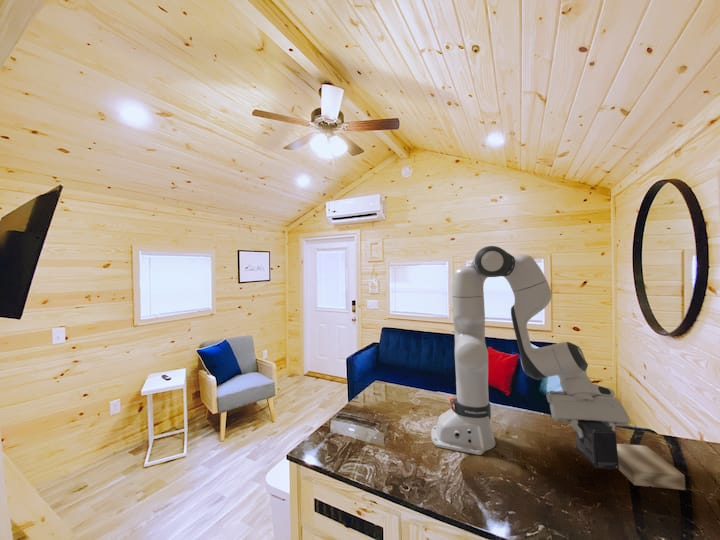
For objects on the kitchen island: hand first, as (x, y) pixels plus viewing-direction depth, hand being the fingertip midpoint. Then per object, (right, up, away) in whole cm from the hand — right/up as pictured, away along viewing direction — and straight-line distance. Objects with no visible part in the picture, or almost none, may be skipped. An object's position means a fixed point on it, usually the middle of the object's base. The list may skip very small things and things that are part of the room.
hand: (597, 438), depth 87 cm
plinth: (+14, -11, +2) cm, 18 cm away
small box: (+1, -7, +1) cm, 7 cm away
